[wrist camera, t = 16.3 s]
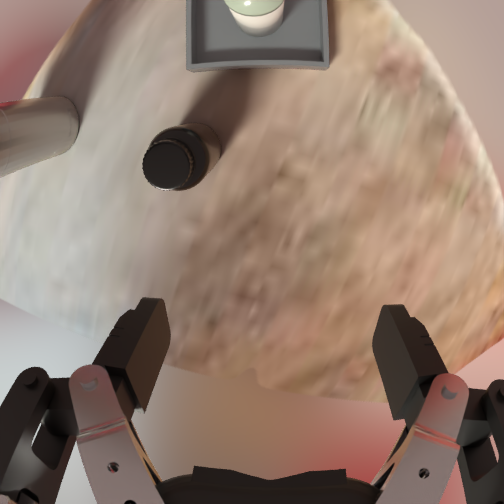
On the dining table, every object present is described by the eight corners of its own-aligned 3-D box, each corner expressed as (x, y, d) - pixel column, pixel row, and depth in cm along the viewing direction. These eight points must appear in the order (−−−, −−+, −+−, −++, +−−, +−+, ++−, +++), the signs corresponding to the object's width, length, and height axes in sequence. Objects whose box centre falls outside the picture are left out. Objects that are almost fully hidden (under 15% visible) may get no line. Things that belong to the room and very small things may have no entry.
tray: (193, 72, 32) (186, 69, 30) (193, -21, 26) (187, -29, 24) (325, 70, 31) (329, 67, 29) (320, -25, 25) (324, -34, 22)
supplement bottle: (190, 184, 39) (159, 215, 28) (160, 143, 37) (117, 159, 26) (233, 154, 37) (215, 175, 26) (202, 111, 35) (171, 114, 24)
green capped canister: (235, 38, 30) (221, 15, 21) (234, -2, 27) (221, -34, 18) (284, 38, 29) (287, 14, 21) (283, -3, 27) (285, -35, 18)
